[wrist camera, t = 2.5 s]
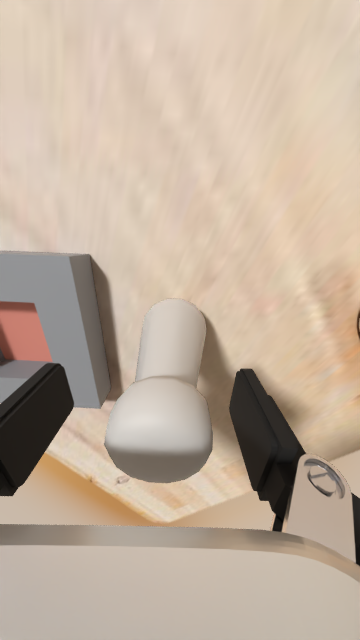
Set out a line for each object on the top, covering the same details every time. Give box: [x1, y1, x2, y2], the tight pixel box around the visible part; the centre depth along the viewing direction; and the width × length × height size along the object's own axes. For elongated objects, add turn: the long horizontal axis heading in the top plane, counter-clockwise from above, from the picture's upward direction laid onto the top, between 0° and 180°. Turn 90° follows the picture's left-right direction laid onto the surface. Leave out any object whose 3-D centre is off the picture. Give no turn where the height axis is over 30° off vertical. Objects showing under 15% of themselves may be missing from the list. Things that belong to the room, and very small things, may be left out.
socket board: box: [0, 251, 111, 409], centre depth 18 cm, size 16×16×3 cm
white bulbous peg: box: [104, 298, 213, 483], centre depth 12 cm, size 6×6×13 cm
